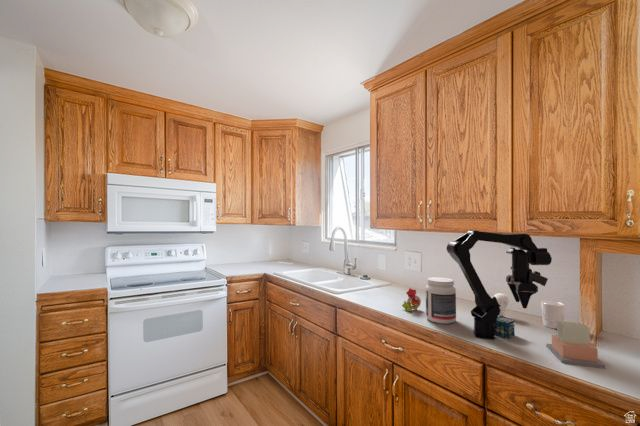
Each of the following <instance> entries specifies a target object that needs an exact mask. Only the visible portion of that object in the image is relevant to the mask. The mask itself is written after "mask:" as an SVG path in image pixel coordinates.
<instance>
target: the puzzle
mask: <svg viewBox="0 0 640 426" xmlns="http://www.w3.org/2000/svg"><path fill="white" fill-rule="evenodd" d="M493 324H494V325H495V336H497V337H500V338H503V339H506V340H507V339H508V340H509V339H511V338H512V337H514V336H515V333H516V332H515V320H514V319H510V318H505V317H504V316H502V317H500V316H498V317H497V320H496V323H493Z"/></svg>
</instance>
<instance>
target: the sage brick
mask: <svg viewBox="0 0 640 426" xmlns="http://www.w3.org/2000/svg"><path fill="white" fill-rule="evenodd" d="M556 331H557V335H558V338H559V339H560V340H561V341H562V342H563V343H572V344H580V345H589V346H590V344H591V343H590V341H591V339H590V337H591V336H590V333H591V331H590V327H588V326H587V325H586V324H584V323H581V322H571V321H563V322H562V321H557V329H556Z"/></svg>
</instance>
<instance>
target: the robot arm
mask: <svg viewBox="0 0 640 426" xmlns="http://www.w3.org/2000/svg"><path fill="white" fill-rule="evenodd" d="M479 241H482V242H489V243H490V242H491V243H496V244H497V243H499V244H503V245H506V246H509V247H510V248H509V249H508V250H506V254H510V255H511V266H510V270H511V274H508V275H507V276H505V282H506V283H507V285H508V288H509V290H510V292H511V294H512V296H513V298H514V300H515V302H516V303H520V305H521V306H522V308H523V309H527V308H528V305H529V302H530V300H531V297H532V296H533V295H534V294H537V293H538V292H539V286H537V284H539V285H540V286H542V287H543V286H544V287H545V286H546V284H547V283H548V280H549V278H547V277H545V276H543V275H542V274H541V272H539V271H537V270H534V271H533V270H532V268H530V265H531V266H549V265H551V264H552V256H551V254H550V252H549V251H548V248H546V247H540V248H539V247H537V245H536V244H535V243H534V241H533V239H532V237H531V236H530V234H528V233H520V232H519V233H517V232H513V233H512V232H510V233H495V232H489V231H488V232H487V231H480V230H476V229H470V230H468V231H467V232H466V233H464V234H463V235H461V236H459V237H457V238H455V240H451V241H449V242H448V243H447V245H446V251H447V253H448V255H449V256H450V257H451V258H452V260H453V261H455V262H456V263H457V264H458V266H459V269H461V272H462V273H463V276H464V278H465V281H467V283H468V285H469V287H470V289H471V292H472V293H473V295H474V303H475V306H474V308H472V310H470V313H471V314H470V315H471V317H473V330H472V333H473V334H474V337H475V338H479V339H480V338H481V339H490V340H495V336H496V335H495V325H494V324H493V323H496V320H497V317H499V316H498V315H499V314H500V312H501V311H500V307H501V306H500V305H499V304H498V302H497V299H496V297H495V296H494V295H493V294H491V293H488V292H487V290H486V288H485V287H484V286H485V285H484V284H483V283H482V280H481V278H480V276H479V274H478V273H477V271H476V269H475V267H474V265H473V264H472V261H471V252H470V250H471V249H472V248H474V246H475V244H477V242H479ZM516 248H517V249H516ZM533 282H534V283H533ZM535 283H536V284H535Z"/></svg>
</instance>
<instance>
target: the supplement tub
mask: <svg viewBox="0 0 640 426" xmlns="http://www.w3.org/2000/svg"><path fill="white" fill-rule="evenodd" d="M426 283H427V285H426V286H425V317H426V318H427V320H428V321H430V322H433V323H436V324H443V325H446V324H448V325H449V324H452V323H455V322H456V321H457V297H456V295H457V290H456V287H454V285H455V280H454V279H452V278H447V277H442V276H441V277H440V276H437V277H436V276H435V277H433V276H432V277H427V279H426Z"/></svg>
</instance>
